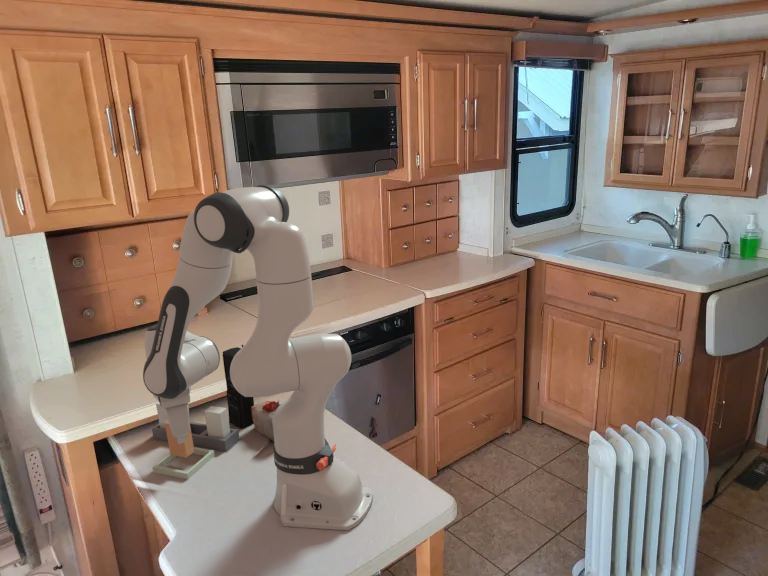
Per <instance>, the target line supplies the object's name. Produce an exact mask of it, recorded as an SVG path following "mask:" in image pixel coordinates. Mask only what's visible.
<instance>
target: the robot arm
mask: <svg viewBox="0 0 768 576" xmlns="http://www.w3.org/2000/svg"><path fill="white" fill-rule="evenodd" d="M289 217H290V205H289V202H288V200H287V198H286V196H285V195H284V194H283V192H282V191H280V190H279V189H278V188H275V187H274V186H273V187H272V186H270V185H261V184H260V185H255V186H247V187H246V186H245V187H243V186H241V187H240V186H239V187H234V188H230V189H227V190H223V191H221V192H219V191H218V192H213V193H211V194H210V195H207V196H206V197H203V199H202V200H200V201H199V202H198V204H197V205H196V207H195V209H193V210H191V212H190V213H189V214H188V215H187V217H186V221H185V223H184V228H183V230H182V236H181V239H180V244H179V245H180V246H179V254H178V260H177V261H178V262H177V265H176V270H175V274H174V276H173V279H172V281H171V284H170V286H169V288H168V290H167V291H166V292H165V294H164V297H163V300H162V302H161V303H162V304H161V307H160V311H159V315H158V319H157V323H155V324H154V325H151V326H150V327H147V329H146V330H145V332H144V333H145V334H144V349H145V350H144V351H145V356H146V361H145V362H144V366H143V370H142V379H143V383H144V386H145V387H146V390H147V391H149V393H151V394H152V395H153V398H155V399H156V400H157V401H158V402H159V403H160V405H161V407H162V408H163V409H164V410H165V413H166V416H167V419H168V422H169V425H170V428H171V431H172V434H173V436H174V437H175V438H176V437H177V442H178V444H181V443H184V442H185V435H188V434H189V430H190V424H189V421H190V410H189V403H191V395H190V393H191V389H192V386H193V385H195V384H197V383H199V382H200V381H203V379H204V378H206V377H208V376H209V375H210V374H212V373H213V372H215V371H216V370H218V368H219V365H220V361H221V357H220V355H221V354H220V351H219V349H218V347H217V345H216V344H215V342H214V341H213V340H212V339H210V338H208V337H205V336H202V335H201V336H200V335H196V334H194V333H192V332H190V331H188V327H189V326H190V323H191V321H192V320H193V319H194V317H195V316H197V314H198V313H199V312H200V311H201V310H202V309H203V308H204V307H206V305H208V304H209V303H210V302H212V301H213V300H214V299H216V297H218V296H219V295H220V294H221V293H223V292H224V291H225V289H226V287H227V285H228V282H229V280H230V276H231V273H232V266H233V258H234V257H233V256H234V254H241V253H244V252H245V251H246V250H247V251H248V252H249V253H250V255H251V256H252V258H253V262H254V267H255V269H254V270H255V279H256V289H257V305H258V306H257V307H258V309H257V311H258V312H257V320H256V324H255V327H254V330H253V332H252V334H251V335H250V337H249V339H248V340H247V341H246V343H245V344H243V345H244V346H243V347H242V346H241V347H240V348H241V349H240V350H239V351H238V352H237V353H236V355H235V356H234V358H233V360H232V362H231V366H230V378H231V381H232V384H233V386H234V387H235V389H236V390H237V391H238V392H239V393H240V394H241V395H243V396H244V397H253V398H259V397H260V398H261V397H263V398H265V397H269V396H270V397H271V396H275V395H280V394H284V393H288V392H292V394H291V395H290V396H289V397H288V398H286V399H285V400H284V401H283V402H282V403H280V404H281V405H280V406H279V407H278V408H277V409H276V411H275V413H274V415H273V419H272V425H273V434H274V442H273V443H274V445H273V459H274V460H273V462H274V466H275V467H276V485H275V486H276V489H275V495H274V500H273V507H274V510H275V511H276V513H277V514H278V515H279V516H280V522H281V524H282V525H283V526H284V527H293V528H294V527H295V528H296V527H297V528H307V529H308V528H309V529H310V528H311V529H323V530H336V531H337V530H338V531H339V530H340V531H349V530H351V529H353V528H355V527H356V526H357V525H359V523H361V522H362V521H363V519H365V517H366V516H367V514H368V512H369V511H370V509H371V507H372V505H373V500H374V495H373V490H372V489H371V488H370V487H367V486H364V485H362V481H361V478H360V475H359V473H358V472H357V471H356V470H354V469H353V468H351V467H350V466H348V464H346V462H343V461H342V460H341V459H339V458H338V457H336V456H335V455H334V453H335V451H336V450H337V447H336V446H337V444H334V445H333V446H332V447H331V446H330V444H329V443H328V440H327V439H326V437H325V436H326V435H325V411H326V405H327V402H328V400H329V398H330V396H331V394H332V391H333V390H334V389H335V387H336V386H337V384H338V383H339V382H340V381H341V380H342V379H343V378H344V377H345V376H346V375H347V374H348V372H349V371H350V368H351V363H352V352H351V348H350V346H349V344H348V343H347V341H346V339H344V338H343V337H342V336H341V335H340V334H338V333H314V334H309V335H307V334H306V335H302V336H297V337H292V338H290V337H291V335H292V333H293V332H294V331H295V330H296V329H297V328H298V327H299V326H301V325H302V324H303V323H305V322H306V321H307V320H308V319H309V318H310V316H311V315H312V313H313V310H314V292H313V291H314V290H313V281H312V280H313V279H312V270H311V262H310V255H309V251H308V247H307V242H306V238H305V236H304V233H303V231H302V230H301V228H299V227H298V226H297V225H296V224H294V223H290V222H288V221H289Z"/></svg>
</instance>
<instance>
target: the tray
mask: <svg viewBox="0 0 768 576" xmlns="http://www.w3.org/2000/svg"><path fill="white" fill-rule="evenodd" d="M192 454H193V455H199V456H203V457H202V458H201V459H200V460H198V461H197V462H196V463H195V464H194V465H193V466H191V467H190V468H189V469H188V470H180V469H177V468H171V467H165V466H166V465H168V463H170V462H171V461H172V460H174V459H175V458H176V457H177V456H174V455H170V452H169V453H168V454H167V455H166V456H165V457H163V458H162V459H160V460H159V461H158V462H157V463H155V464H154V465H153V466H152V471H153V473H155V474H160V475H164V476H169V477H173V478H179V479H184V480H190V479H191V478H192V477H193V476H194V475H195V474H196V473H198V472H199V470H201V469H202V468H204V466H205V465H207V464H208V463H209V462H210V461H211V460H212V459H213V458H214V457H216V454H215V450H210V449H204V448H198V447H194V452H193V453H192ZM192 454H191V455H192Z"/></svg>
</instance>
